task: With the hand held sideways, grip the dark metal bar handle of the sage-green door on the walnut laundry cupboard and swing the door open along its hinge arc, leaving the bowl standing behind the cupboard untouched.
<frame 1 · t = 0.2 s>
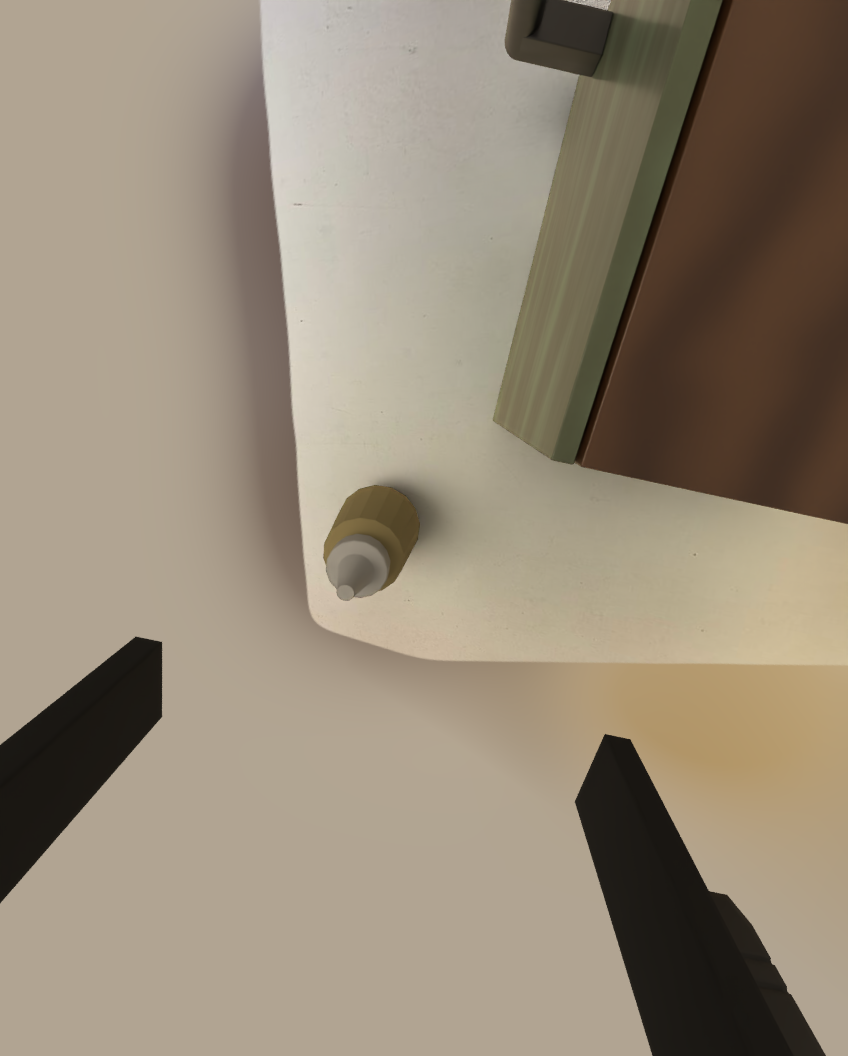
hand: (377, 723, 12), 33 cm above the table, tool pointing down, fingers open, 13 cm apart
squeeze bottle: (384, 514, 45), on the table
cupboard door: (528, 204, 25), point 12 cm above the table, hinge at 0.0°
cupboard: (643, 294, 37), on the table
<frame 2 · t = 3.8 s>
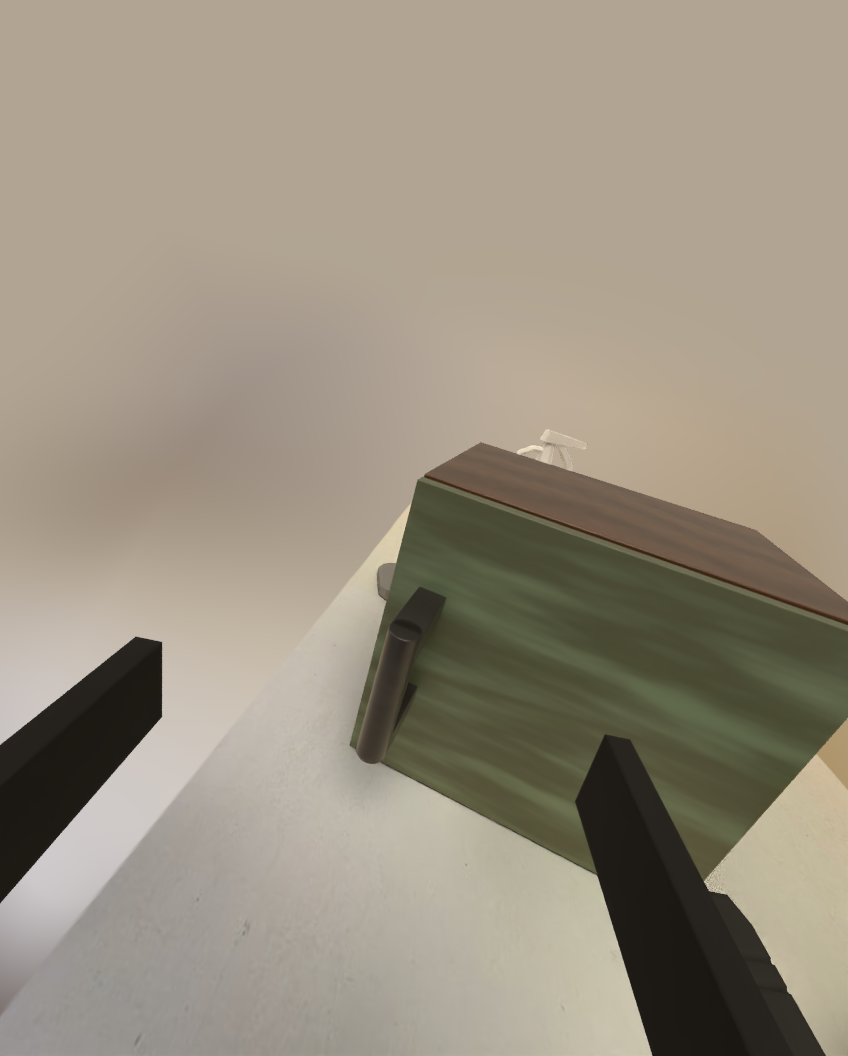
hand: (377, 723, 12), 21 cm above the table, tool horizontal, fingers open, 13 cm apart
remote control: (454, 595, 63), on the table
cupboard door: (552, 739, 26), point 12 cm above the table, hinge at 0.0°
cupboard: (514, 728, 42), on the table
fire extinguisher: (501, 569, 75), on the table
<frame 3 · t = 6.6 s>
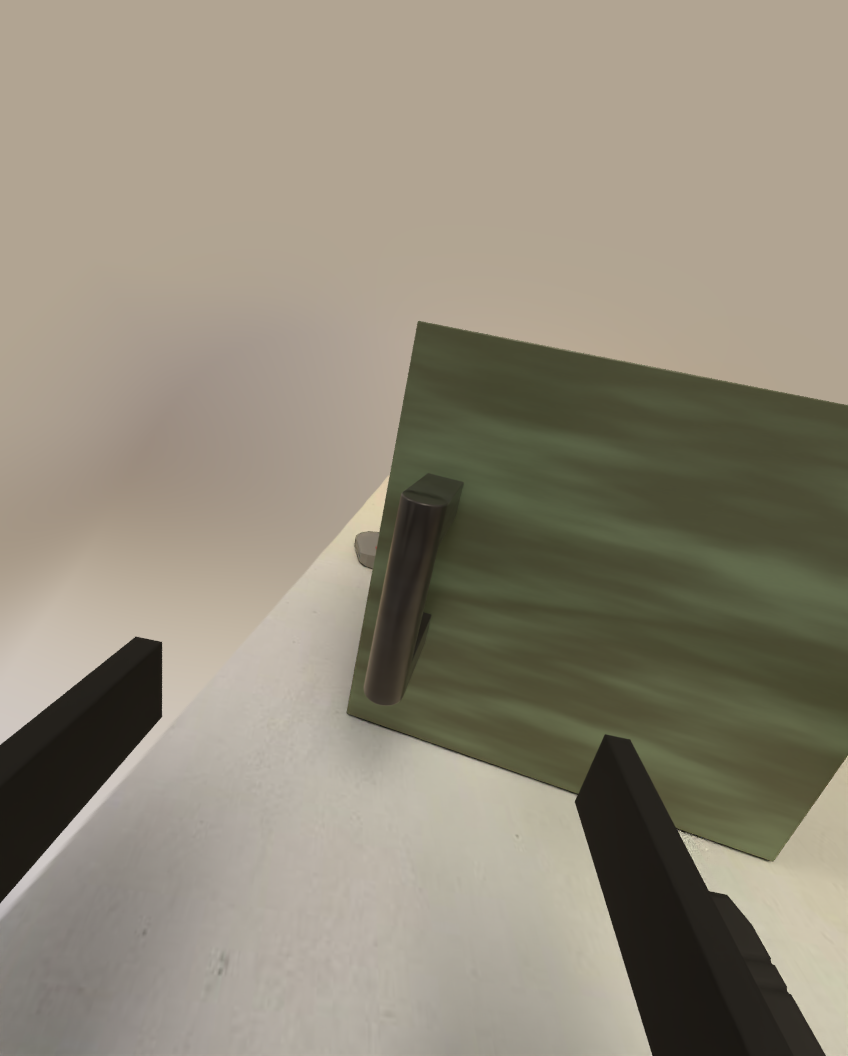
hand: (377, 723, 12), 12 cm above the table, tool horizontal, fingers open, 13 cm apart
remote control: (442, 561, 56), on the table
cupboard door: (621, 640, 20), point 12 cm above the table, hinge at 0.0°
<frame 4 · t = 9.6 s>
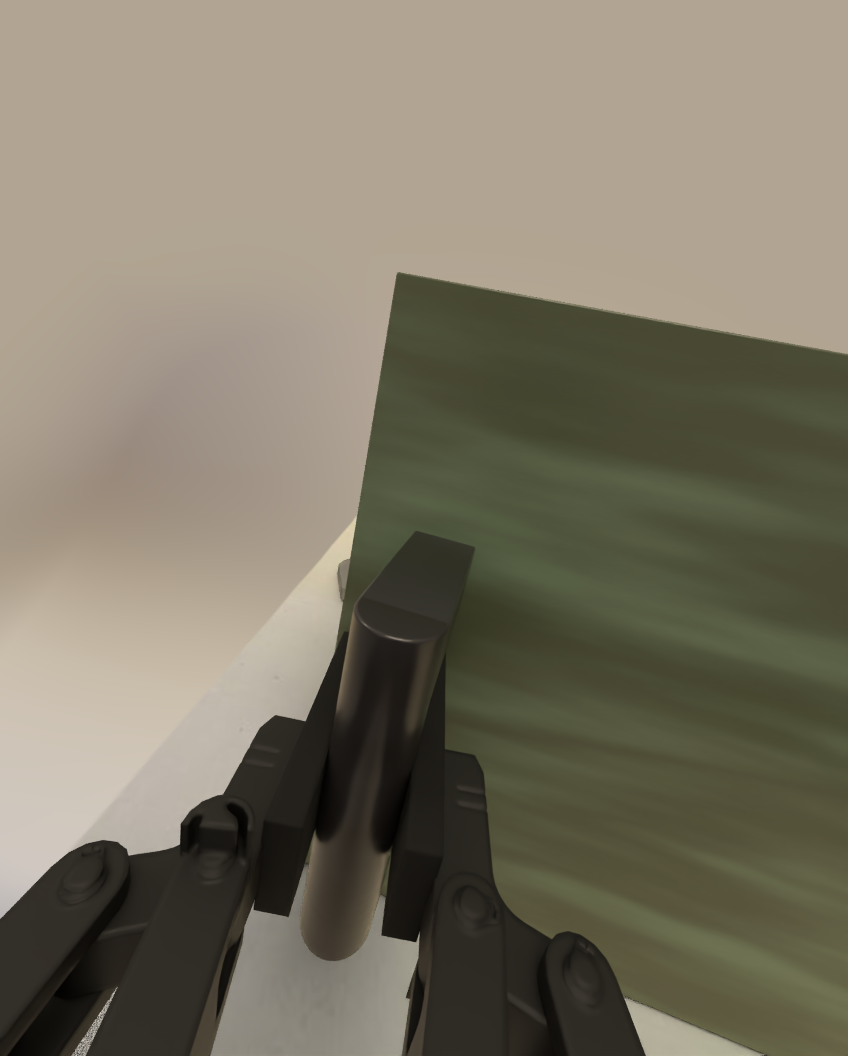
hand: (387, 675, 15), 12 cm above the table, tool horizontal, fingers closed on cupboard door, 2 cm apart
remote control: (442, 594, 47), on the table
cupboard door: (759, 843, 11), point 12 cm above the table, hinge at 0.0°, touching gripper
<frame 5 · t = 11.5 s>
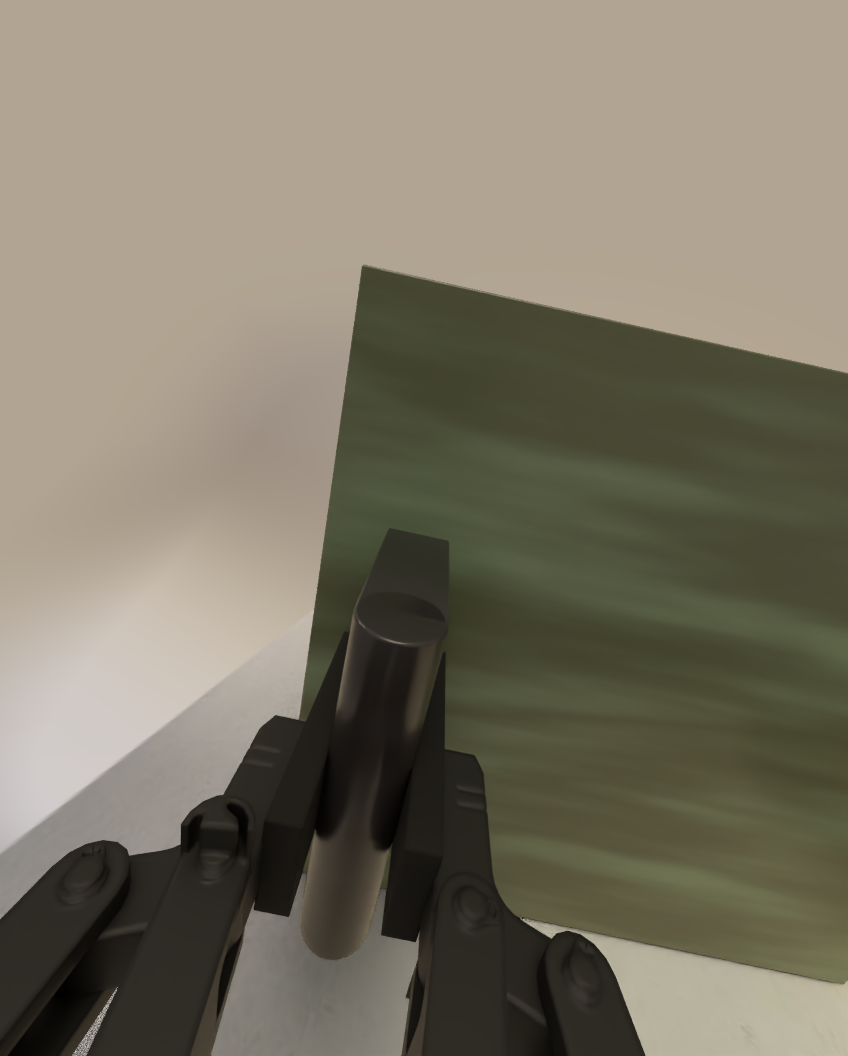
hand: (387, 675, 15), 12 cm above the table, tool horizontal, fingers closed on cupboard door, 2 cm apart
cupboard door: (708, 783, 13), point 12 cm above the table, hinge at 22.6°, touching gripper
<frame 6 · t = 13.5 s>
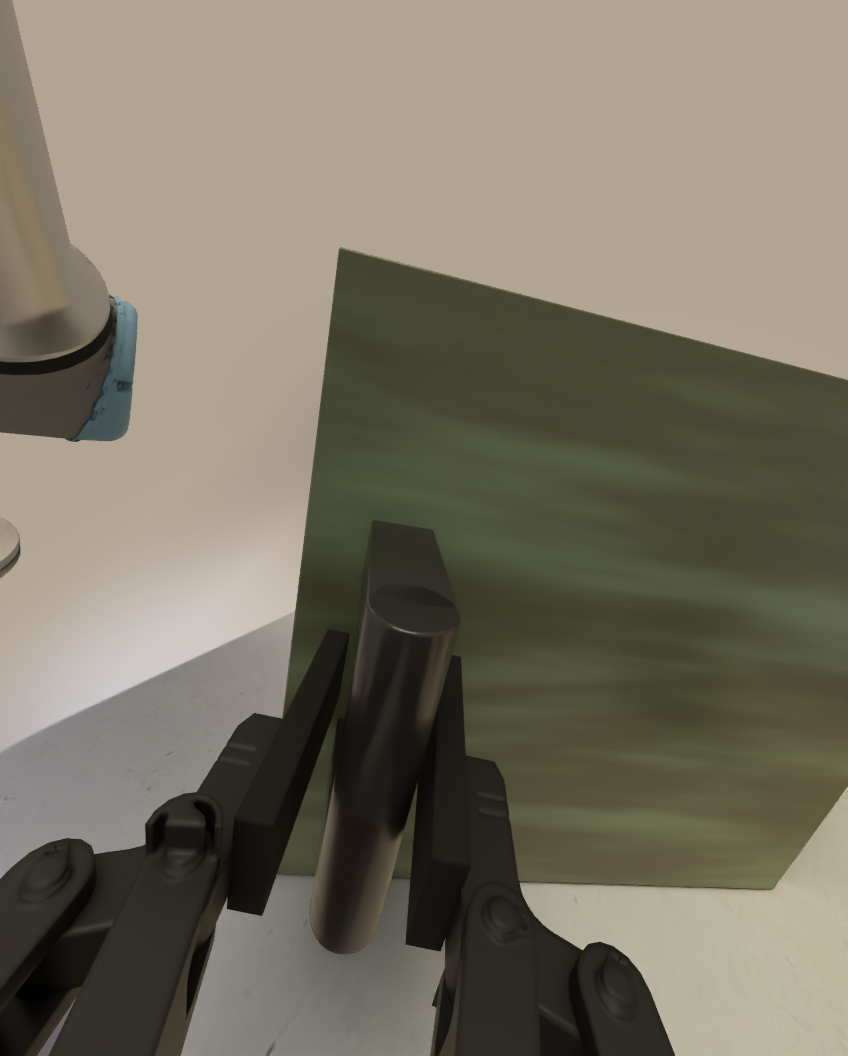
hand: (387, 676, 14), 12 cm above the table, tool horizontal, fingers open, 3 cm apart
cupboard door: (675, 734, 14), point 12 cm above the table, hinge at 43.6°
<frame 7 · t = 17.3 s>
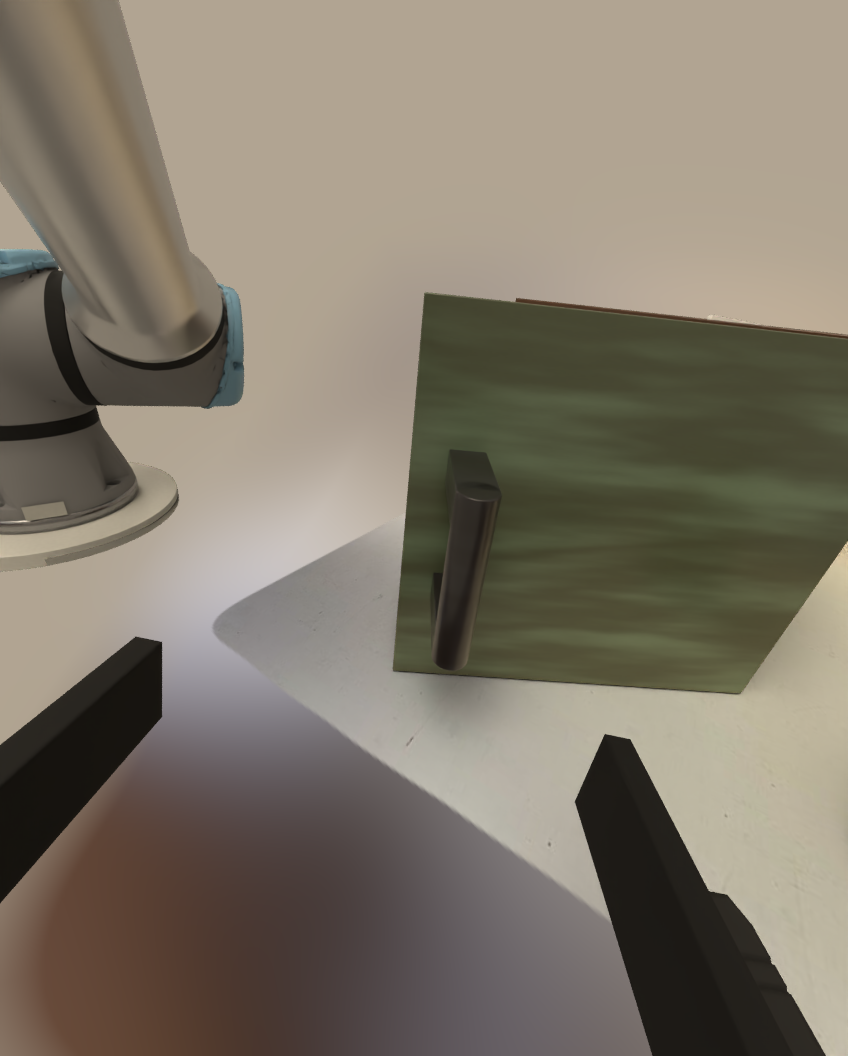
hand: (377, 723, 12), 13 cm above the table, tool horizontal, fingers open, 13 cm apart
cupboard door: (643, 570, 23), point 12 cm above the table, hinge at 43.6°
cupboard: (616, 565, 46), on the table
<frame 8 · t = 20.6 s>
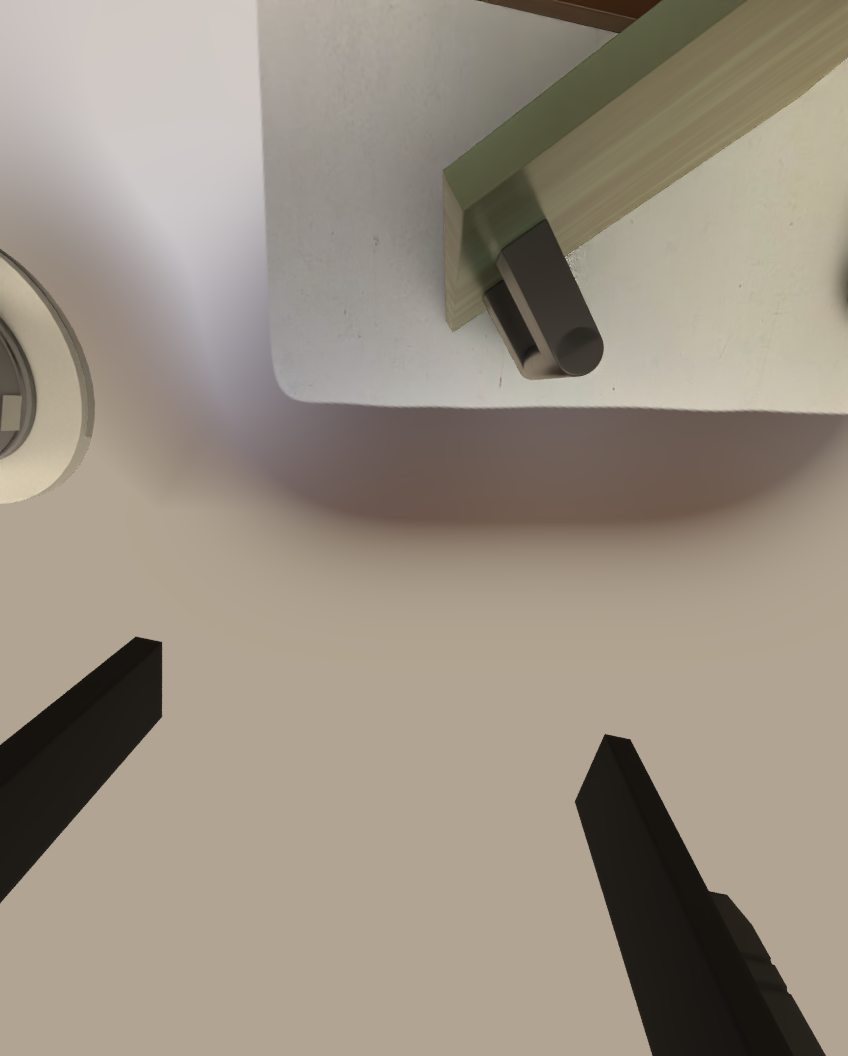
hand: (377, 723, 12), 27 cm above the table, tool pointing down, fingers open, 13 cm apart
cupboard door: (727, 184, 20), point 12 cm above the table, hinge at 43.6°
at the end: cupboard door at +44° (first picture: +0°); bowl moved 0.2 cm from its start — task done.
